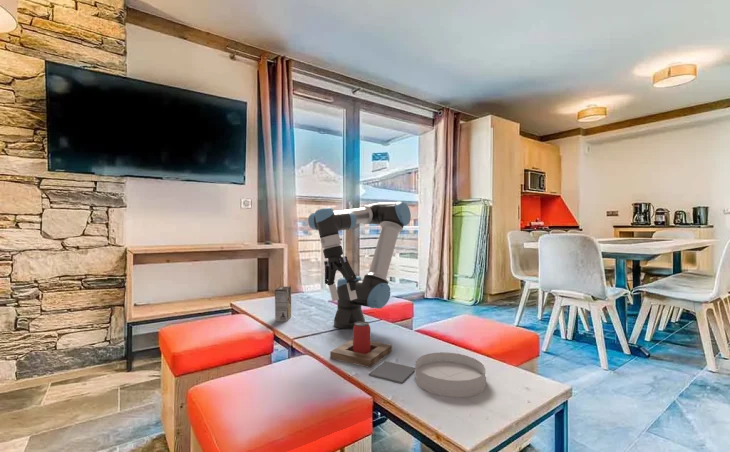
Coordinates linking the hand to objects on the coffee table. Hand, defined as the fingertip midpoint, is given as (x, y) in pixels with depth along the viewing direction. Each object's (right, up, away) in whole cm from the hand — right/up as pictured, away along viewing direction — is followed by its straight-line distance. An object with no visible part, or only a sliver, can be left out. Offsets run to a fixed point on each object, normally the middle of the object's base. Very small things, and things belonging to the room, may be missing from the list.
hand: (344, 300), depth 138 cm
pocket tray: (+7, -20, -4) cm, 21 cm away
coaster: (+17, -20, -20) cm, 33 cm away
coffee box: (-34, -19, +45) cm, 59 cm away
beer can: (+7, -20, -4) cm, 22 cm away
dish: (+35, -21, -25) cm, 48 cm away
